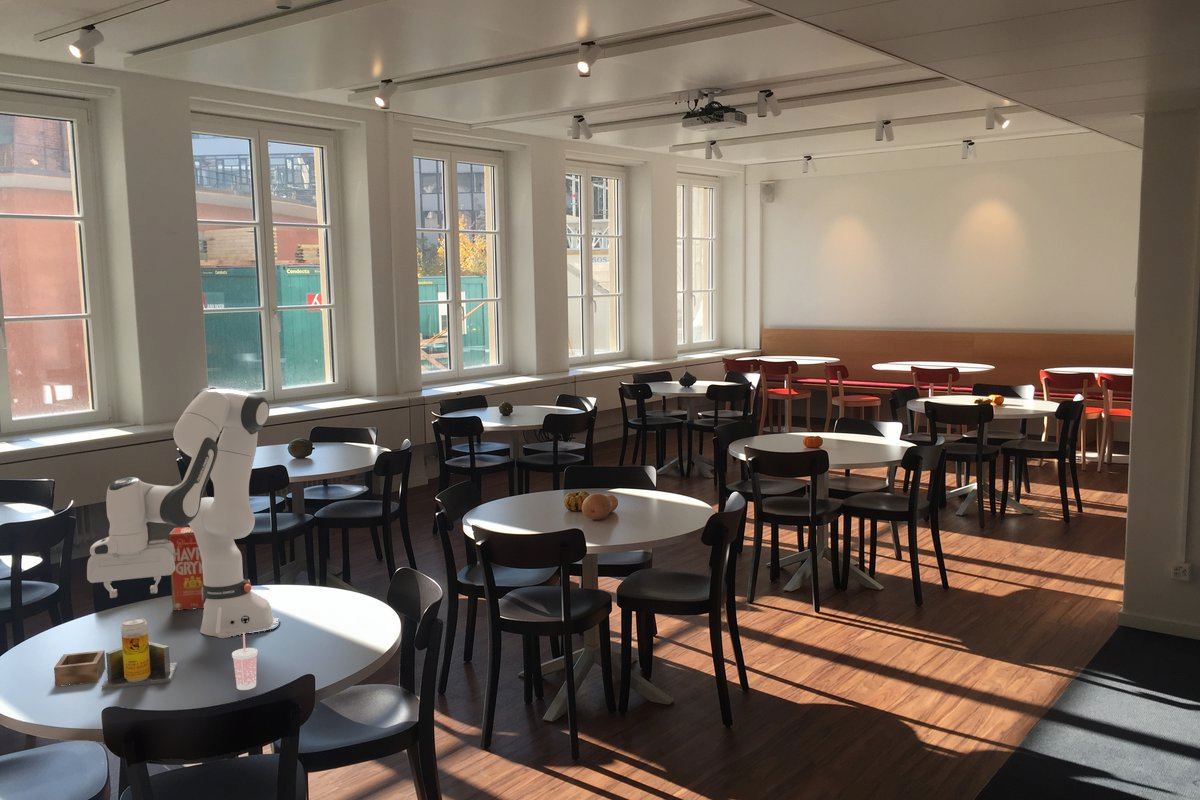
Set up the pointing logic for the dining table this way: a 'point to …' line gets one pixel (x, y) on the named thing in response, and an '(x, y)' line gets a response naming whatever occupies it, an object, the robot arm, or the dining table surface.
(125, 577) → the robot arm
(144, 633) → the beer can
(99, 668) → the walnut sleeve
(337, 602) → the dining table surface
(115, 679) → the V-block
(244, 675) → the beverage cup
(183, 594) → the food packaging
